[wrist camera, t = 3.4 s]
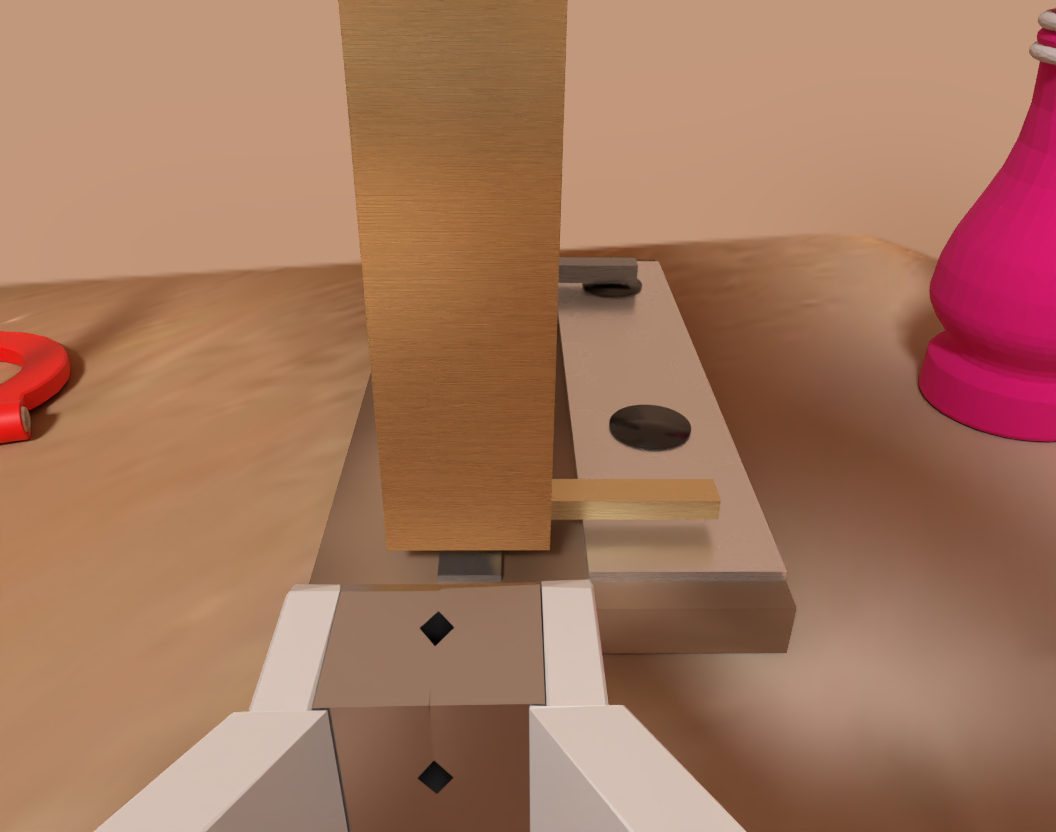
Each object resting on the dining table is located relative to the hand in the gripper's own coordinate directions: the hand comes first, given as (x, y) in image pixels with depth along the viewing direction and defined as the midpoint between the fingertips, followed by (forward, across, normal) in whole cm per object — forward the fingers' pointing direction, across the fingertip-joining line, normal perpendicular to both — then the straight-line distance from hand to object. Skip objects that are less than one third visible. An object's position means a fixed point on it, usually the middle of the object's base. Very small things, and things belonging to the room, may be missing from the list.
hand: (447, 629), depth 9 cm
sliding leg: (+12, -2, +7) cm, 14 cm away
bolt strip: (+21, -3, +8) cm, 23 cm away
